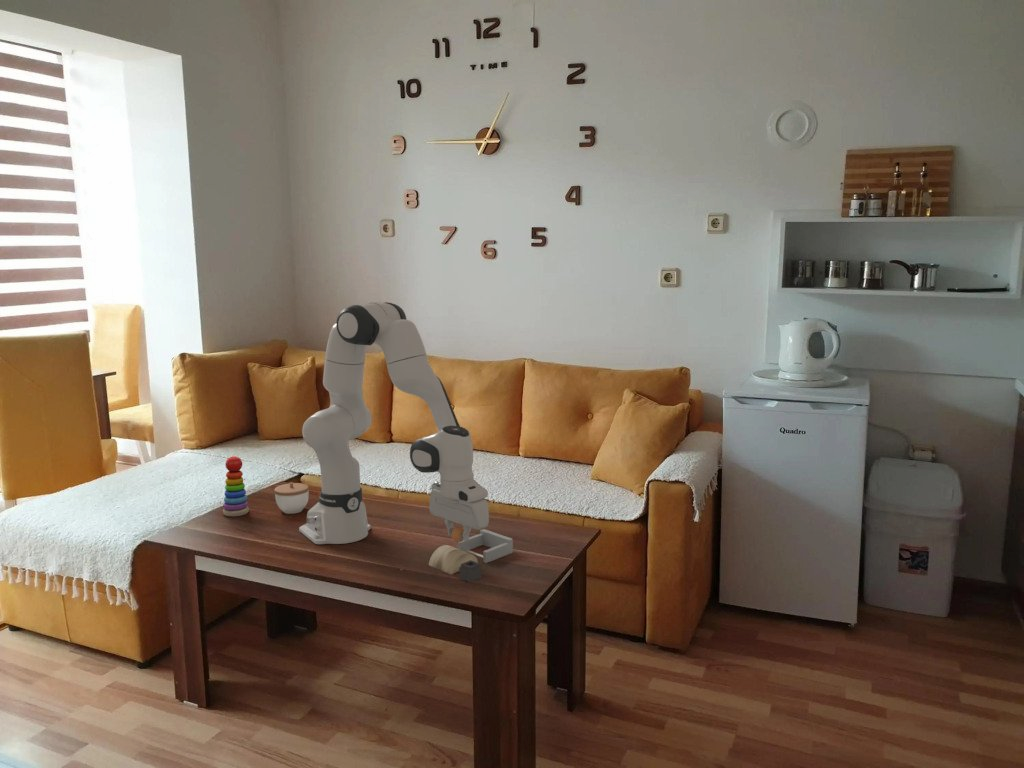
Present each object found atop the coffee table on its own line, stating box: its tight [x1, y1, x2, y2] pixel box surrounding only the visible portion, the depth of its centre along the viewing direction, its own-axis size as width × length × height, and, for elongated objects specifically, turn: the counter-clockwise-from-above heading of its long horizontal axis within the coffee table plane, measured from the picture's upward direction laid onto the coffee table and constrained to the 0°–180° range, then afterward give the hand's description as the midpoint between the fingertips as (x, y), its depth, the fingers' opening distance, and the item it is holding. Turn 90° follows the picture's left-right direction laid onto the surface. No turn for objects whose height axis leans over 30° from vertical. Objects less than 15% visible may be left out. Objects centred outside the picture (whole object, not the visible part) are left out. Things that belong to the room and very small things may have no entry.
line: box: [465, 549, 483, 558], centre depth 218 cm, size 9×1×1 cm, turn 46°
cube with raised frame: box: [458, 560, 483, 583], centre depth 202 cm, size 4×4×4 cm
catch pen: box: [456, 528, 514, 564], centre depth 220 cm, size 12×10×4 cm
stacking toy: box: [222, 456, 250, 517], centre depth 254 cm, size 8×8×19 cm
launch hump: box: [428, 544, 479, 575], centre depth 212 cm, size 9×10×10 cm
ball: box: [451, 526, 464, 542], centre depth 212 cm, size 4×4×4 cm
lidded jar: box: [273, 482, 310, 515], centre depth 257 cm, size 11×11×9 cm
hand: (458, 537), depth 212 cm, fingers closed on ball, 4 cm apart
